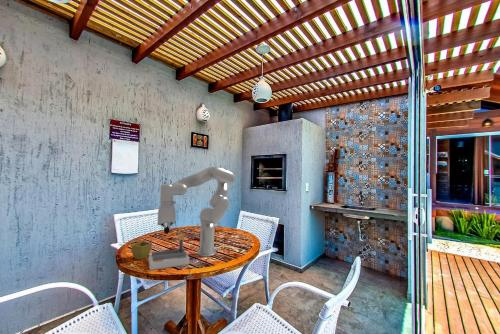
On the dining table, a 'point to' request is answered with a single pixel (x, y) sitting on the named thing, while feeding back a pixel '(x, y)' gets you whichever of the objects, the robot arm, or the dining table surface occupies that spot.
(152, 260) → the breaker block
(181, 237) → the breaker lever
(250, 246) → the dining table surface
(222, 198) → the robot arm
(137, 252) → the flower pot
